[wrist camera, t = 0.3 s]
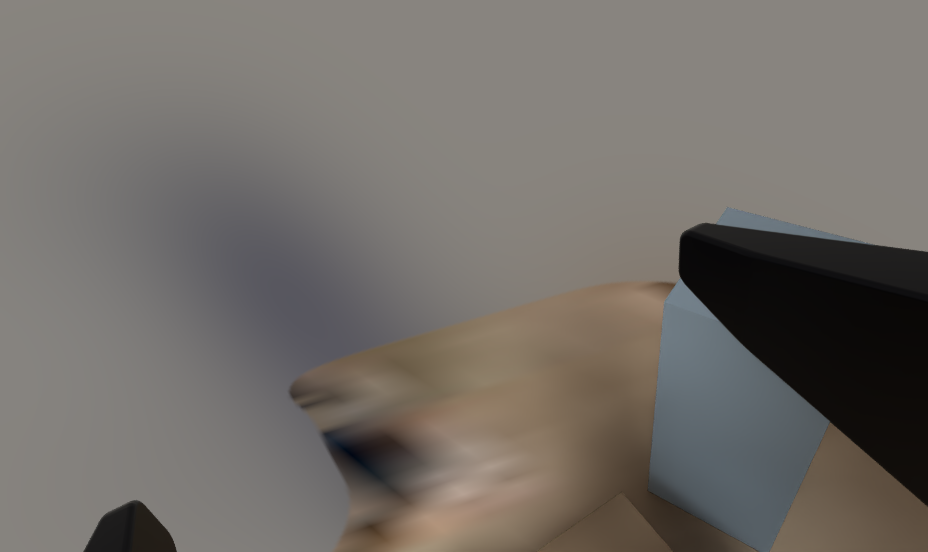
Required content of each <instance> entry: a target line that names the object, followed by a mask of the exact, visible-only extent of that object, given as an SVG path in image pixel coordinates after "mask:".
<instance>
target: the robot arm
mask: <svg viewBox="0 0 928 552" xmlns="http://www.w3.org/2000/svg"><path fill="white" fill-rule="evenodd" d="M679 275H680V277H681V279H682V281H683V283H684V284H685V285H686V286H687V287H688V288H689V289H690V291H691V292H692V293H693V294H694V295H695V296H696V297H697V298H698V299H699V300H700V301H701V302H702V303H703V304H704V305H705V306H706V308H707V309H708V310H709V311H710V312H711V313H712V314H713V315H714V316H715V317H716V318H717V319H718V320H719V321H720V322H721V323H722V325H723V326H724V327H725V328H726V329H727V330H728V331H729V332H730V333H731V334H732V335H733V336H734V337H735V338H736V339H737V340H738V341H739V342H740V343H741V344H742V345H743V346H744V347H745V348H746V349H747V350H748V351H749V352H751V353H752V354H753V355H754V356H755V357H756V358H757V359H758V360H760V361H761V362H762V363H763V364H764V365H765V366H767V367H768V368H769V369H770V370H771V371H772V372H773V373H775V374H776V375H777V376H778V377H779V378H780V379H781V380H783V381H784V382H785V383H786V384H787V385H788V386H790V387H791V388H792V389H793V390H794V391H795V392H796V393H798V394H799V395H800V396H801V397H802V398H803V399H804V400H806V401H807V402H808V403H809V404H810V405H811V406H813V407H814V408H815V409H816V410H817V411H818V412H819V413H821V414H822V415H823V416H824V417H825V418H826V419H827V420H829V421H830V422H831V423H832V424H833V425H834V426H836V427H837V428H838V429H839V430H840V431H841V432H842V433H844V434H845V435H846V436H847V437H848V438H849V439H850V440H852V441H853V442H854V443H855V444H856V445H857V446H859V447H860V448H861V449H862V450H863V451H864V452H865V453H867V454H868V455H869V456H870V457H871V458H872V459H874V460H875V461H876V462H877V463H878V464H879V465H880V466H882V467H883V468H884V469H885V470H886V471H887V472H888V473H890V474H891V475H892V476H893V477H894V478H895V479H897V480H898V481H899V482H900V483H901V484H902V485H903V486H905V487H906V488H907V489H908V490H909V491H910V492H911V493H913V494H914V495H915V496H916V497H917V498H918V499H920V500H921V501H922V502H923V503H924V504H925V505H926V506H928V252H924V251H917V250H909V249H902V248H893V247H886V246H878V245H871V244H863V243H856V242H848V241H840V240H833V239H825V238H817V237H810V236H802V235H794V234H787V233H779V232H771V231H764V230H756V229H749V228H741V227H733V226H726V225H718V224H710V223H702V224H698V225H696V226H694V227H692V228H690V229H688V230H686V231H684V232H683V233H682V235H681V237H680V246H679ZM84 552H177V551H176V547H175V544H174V541H173V539H172V537H171V535H170V533H169V532H168V531H167V529H166V528H165V527H164V526H163V525H162V524H161V523H160V522H159V521H158V519H157V518H156V517H155V516H154V515H153V514H152V513H151V512H150V510H149V509H148V508H147V507H146V506H145V505H144V504H143V503H142V502H140V501H137V500H134V501H130V502H128V503H126V504H124V505H122V506H120V507H118V508H116V509H114V510H112V511H110V512H108V513H106V514H105V515H104V516H103V517H102V518H101V520H100V521H99V523H98V525H97V527H96V529H95V531H94V533H93V535H92V536H91V538H90V540H89V542H88V544H87V546H86V548H85V550H84Z"/></svg>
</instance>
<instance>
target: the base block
mask: <svg viewBox="0 0 928 552" xmlns="http://www.w3.org/2000/svg"><path fill="white" fill-rule="evenodd" d="M536 552H673V551H672V550H671V549H670V547H669V546H668V545H667V544H666V543H665V542H664V540H663V539H662V538H661V537H660V536H659V535H658V533H657V532H656V531H655V530H654V529H653V528H652V526H651V525H650V524H649V523H648V522H647V521H646V519H645V518H644V517H643V516H642V515H641V514H640V513H639V511H638V510H637V509H636V508H635V507H634V506H633V504H632V503H631V502H630V501H629V500H628V499H627V497H626V496H625V495H624V494H623V493H622V492H621V493H619V494H618V495H616V496H615V497H613V498H612V499H611V500H609V501H608V502H606V503H605V504H603V505H602V506H601V507H599V508H598V509H596V510H595V511H593V512H592V513H591V514H589V515H588V516H586V517H585V518H583V519H582V520H581V521H579V522H578V523H576V524H575V525H574V526H572V527H571V528H569V529H568V530H566V531H565V532H564V533H562V534H561V535H559V536H558V537H556V538H555V539H554V540H552V541H551V542H549V543H548V544H546V545H545V546H544V547H542V548H541V549H539V550H538V551H536Z"/></svg>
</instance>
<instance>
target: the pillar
mask: <svg viewBox="0 0 928 552" xmlns="http://www.w3.org/2000/svg"><path fill="white" fill-rule="evenodd" d="M716 224H718V225H726V226H733V227H741V228H749V229H756V230H764V231H771V232H779V233H787V234H794V235H802V236H810V237H817V238H825V239H833V240H840V241H848V242H856V243H863V244H869V243H865V242H861V241H857V240H853V239H849V238H845V237H842V236H838V235H833V234H830V233H826V232H822V231H818V230H814V229H810V228H807V227H802V226H799V225H795V224H791V223H787V222H783V221H779V220H775V219H771V218H768V217H764V216H760V215H756V214H752V213H748V212H744V211H740V210H736V209H732V208H729V207H727V208H726V210H725V212H724V213H723V214H722V216H721V217H720V219H719V221H718V222H717V223H716ZM871 245H873V244H871ZM829 423H830V421H829V420H827V419H826V418H825V417H824V416H823V415H822V414H821V413H819V412H818V411H817V410H816V409H815V408H814V407H813V406H811V405H810V404H809V403H808V402H807V401H806V400H804V399H803V398H802V397H801V396H800V395H799V394H798V393H796V392H795V391H794V390H793V389H792V388H791V387H790V386H788V385H787V384H786V383H785V382H784V381H783V380H781V379H780V378H779V377H778V376H777V375H776V374H775V373H773V372H772V371H771V370H770V369H769V368H768V367H767V366H765V365H764V364H763V363H762V362H761V361H760V360H758V359H757V358H756V357H755V356H754V355H753V354H752V353H751V352H749V351H748V350H747V349H746V348H745V347H744V346H743V345H742V344H741V343H740V342H739V341H738V340H737V339H736V338H735V337H734V336H733V335H732V334H731V333H730V332H729V331H728V330H727V329H726V328H725V327H724V326H723V325H722V323H721V322H720V321H719V320H718V319H717V318H716V317H715V316H714V315H713V314H712V313H711V312H710V311H709V310H708V309H707V308H706V306H705V305H704V304H703V303H702V302H701V301H700V300H699V299H698V298H697V297H696V296H695V295H694V294H693V293H692V292H691V291H690V289H689V288H688V287H687V286H686V285H685V284H684V283H683V281H682V279H681V278H680V279H679V281H678V282H677V284H676V285H675V287H674V288H673V290H672V291H671V293H670V294H669V296H668V297H667V299H666V300H665V302H664V311H663V323H662V334H661V345H660V356H659V368H658V379H657V390H656V402H655V413H654V424H653V436H652V447H651V458H650V469H649V481H648V491H650V492H651V493H653V494H655V495H657V496H659V497H661V498H662V499H664V500H666V501H668V502H670V503H671V504H673V505H675V506H677V507H679V508H681V509H682V510H684V511H686V512H688V513H690V514H692V515H693V516H695V517H697V518H699V519H701V520H703V521H704V522H706V523H708V524H710V525H712V526H714V527H715V528H717V529H719V530H721V531H723V532H725V533H726V534H728V535H730V536H732V537H734V538H736V539H737V540H739V541H741V542H743V543H745V544H747V545H748V546H750V547H752V548H754V549H756V550H757V551H759V552H770V549H771V547H772V545H773V543H774V541H775V539H776V537H777V534H778V532H779V530H780V528H781V526H782V524H783V522H784V519H785V517H786V515H787V513H788V511H789V509H790V506H791V504H792V502H793V500H794V498H795V496H796V494H797V491H798V489H799V487H800V485H801V483H802V481H803V479H804V476H805V474H806V472H807V470H808V468H809V466H810V464H811V461H812V459H813V457H814V455H815V453H816V451H817V449H818V446H819V444H820V442H821V440H822V438H823V436H824V434H825V431H826V429H827V427H828V425H829Z"/></svg>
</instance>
